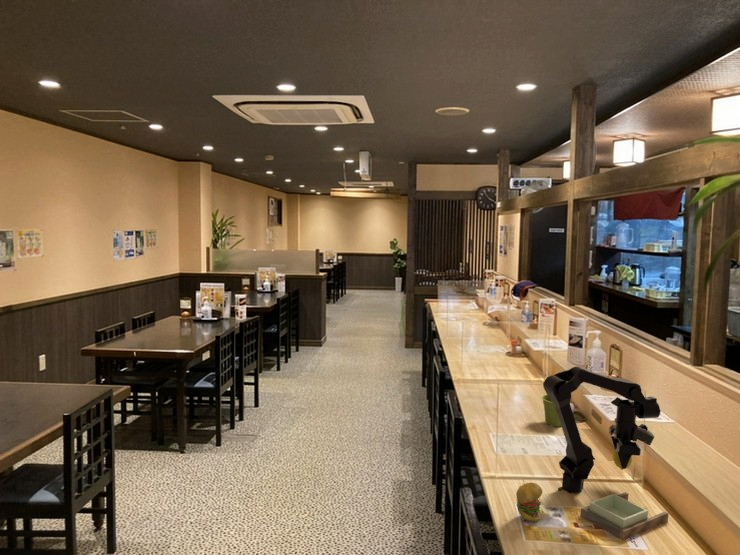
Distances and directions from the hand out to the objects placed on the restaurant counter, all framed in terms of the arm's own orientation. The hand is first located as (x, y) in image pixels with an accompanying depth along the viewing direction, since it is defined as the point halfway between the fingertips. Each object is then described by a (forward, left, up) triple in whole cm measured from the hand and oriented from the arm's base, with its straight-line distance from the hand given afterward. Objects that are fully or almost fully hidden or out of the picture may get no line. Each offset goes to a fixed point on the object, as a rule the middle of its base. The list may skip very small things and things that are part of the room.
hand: (622, 464), depth 183 cm
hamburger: (-41, +1, -8) cm, 42 cm away
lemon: (0, 0, -2) cm, 2 cm away
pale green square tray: (-21, -14, -7) cm, 26 cm away
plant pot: (+28, +51, -8) cm, 59 cm away
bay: (-18, -14, -8) cm, 24 cm away
